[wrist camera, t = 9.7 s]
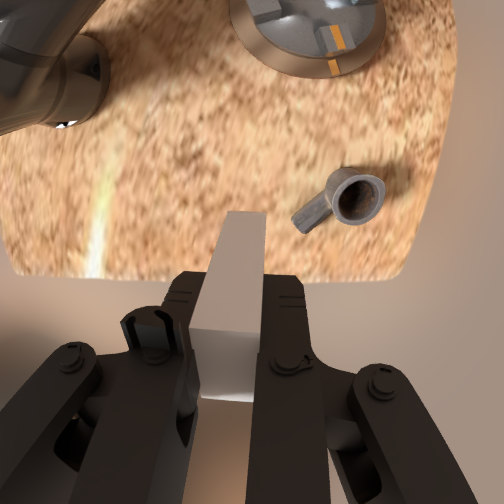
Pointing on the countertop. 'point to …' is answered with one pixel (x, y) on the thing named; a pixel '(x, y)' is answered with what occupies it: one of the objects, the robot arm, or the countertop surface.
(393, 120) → the countertop surface
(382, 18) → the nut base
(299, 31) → the four-tab metal disc
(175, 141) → the countertop surface
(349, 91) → the countertop surface
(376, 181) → the pipe
